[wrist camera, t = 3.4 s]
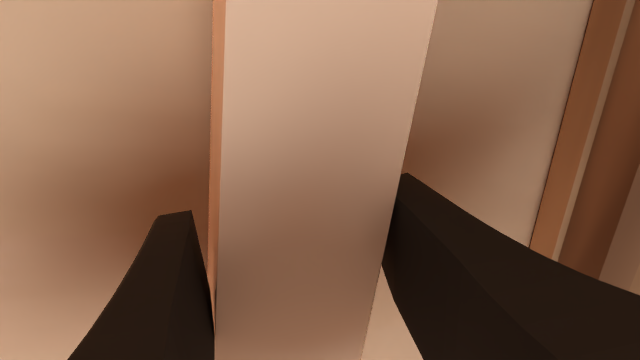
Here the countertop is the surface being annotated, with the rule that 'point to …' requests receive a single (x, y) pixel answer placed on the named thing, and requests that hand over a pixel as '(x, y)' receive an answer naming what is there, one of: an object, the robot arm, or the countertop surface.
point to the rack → (599, 156)
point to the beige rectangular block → (306, 167)
